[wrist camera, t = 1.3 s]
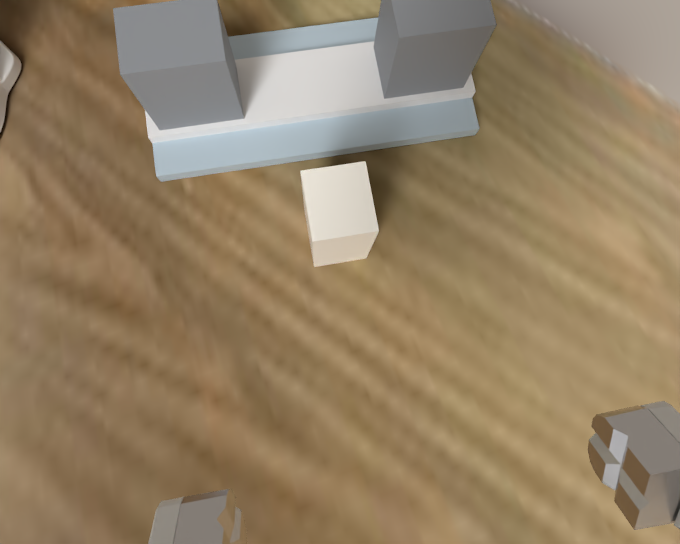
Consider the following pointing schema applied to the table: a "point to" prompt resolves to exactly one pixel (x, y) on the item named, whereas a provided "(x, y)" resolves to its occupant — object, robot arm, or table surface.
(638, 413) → the robot arm
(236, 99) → the twin block stand
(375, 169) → the table surface
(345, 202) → the block
